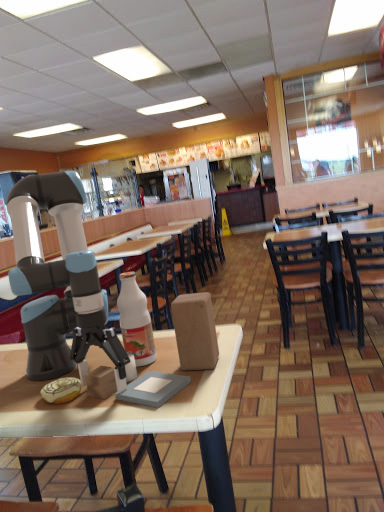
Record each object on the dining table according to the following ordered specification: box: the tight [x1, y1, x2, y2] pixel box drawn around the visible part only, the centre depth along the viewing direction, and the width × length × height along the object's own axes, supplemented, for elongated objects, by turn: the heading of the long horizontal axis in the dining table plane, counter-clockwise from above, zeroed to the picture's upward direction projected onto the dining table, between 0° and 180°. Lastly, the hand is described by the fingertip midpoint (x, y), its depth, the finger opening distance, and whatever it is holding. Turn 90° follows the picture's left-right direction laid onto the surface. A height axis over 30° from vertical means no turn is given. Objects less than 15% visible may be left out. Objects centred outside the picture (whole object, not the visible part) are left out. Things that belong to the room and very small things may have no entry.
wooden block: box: [170, 291, 220, 371], centre depth 120 cm, size 10×10×20 cm
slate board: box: [114, 370, 192, 409], centre depth 109 cm, size 14×14×2 cm
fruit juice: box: [116, 271, 158, 368], centre depth 129 cm, size 9×9×28 cm
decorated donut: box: [39, 376, 82, 405], centre depth 113 cm, size 10×11×4 cm
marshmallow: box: [114, 354, 138, 383], centre depth 119 cm, size 6×6×6 cm
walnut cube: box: [85, 365, 118, 400], centre depth 112 cm, size 6×6×6 cm
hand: (104, 387), depth 111 cm, fingers open, 13 cm apart
